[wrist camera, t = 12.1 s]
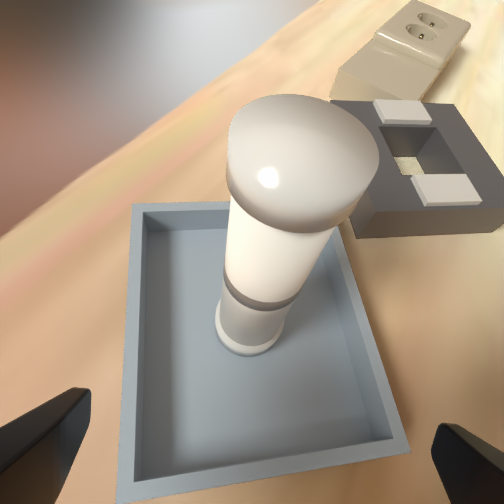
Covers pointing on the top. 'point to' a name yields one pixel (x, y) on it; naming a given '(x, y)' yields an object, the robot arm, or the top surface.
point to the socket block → (436, 173)
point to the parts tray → (240, 368)
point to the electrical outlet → (402, 56)
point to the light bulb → (284, 207)
